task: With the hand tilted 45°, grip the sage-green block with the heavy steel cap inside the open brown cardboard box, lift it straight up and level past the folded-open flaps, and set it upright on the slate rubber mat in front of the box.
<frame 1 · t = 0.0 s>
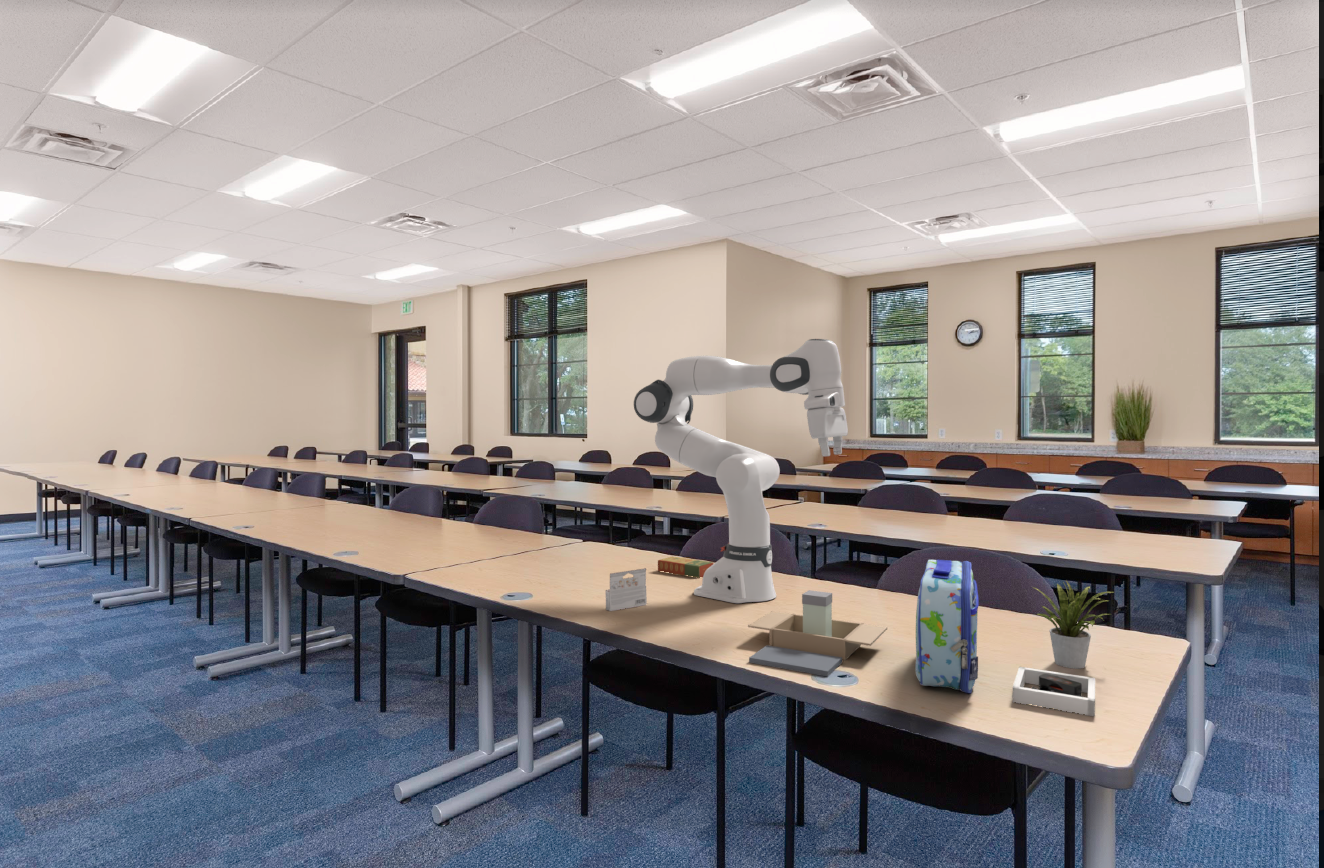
hand: (832, 455, 186), 39 cm above the table, tool pointing down, fingers open, 8 cm apart
lunch box: (947, 675, 138), on the table
house plant: (1077, 666, 141), on the table
slate mat: (795, 662, 145), on the table
carton: (685, 574, 229), on the table
ink cartridge box: (626, 608, 188), on the table
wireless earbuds: (1053, 699, 126), resting in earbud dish
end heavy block: (817, 619, 156), in the open cardboard box
open cardboard box: (817, 644, 156), on the table
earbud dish: (1054, 697, 126), on the table
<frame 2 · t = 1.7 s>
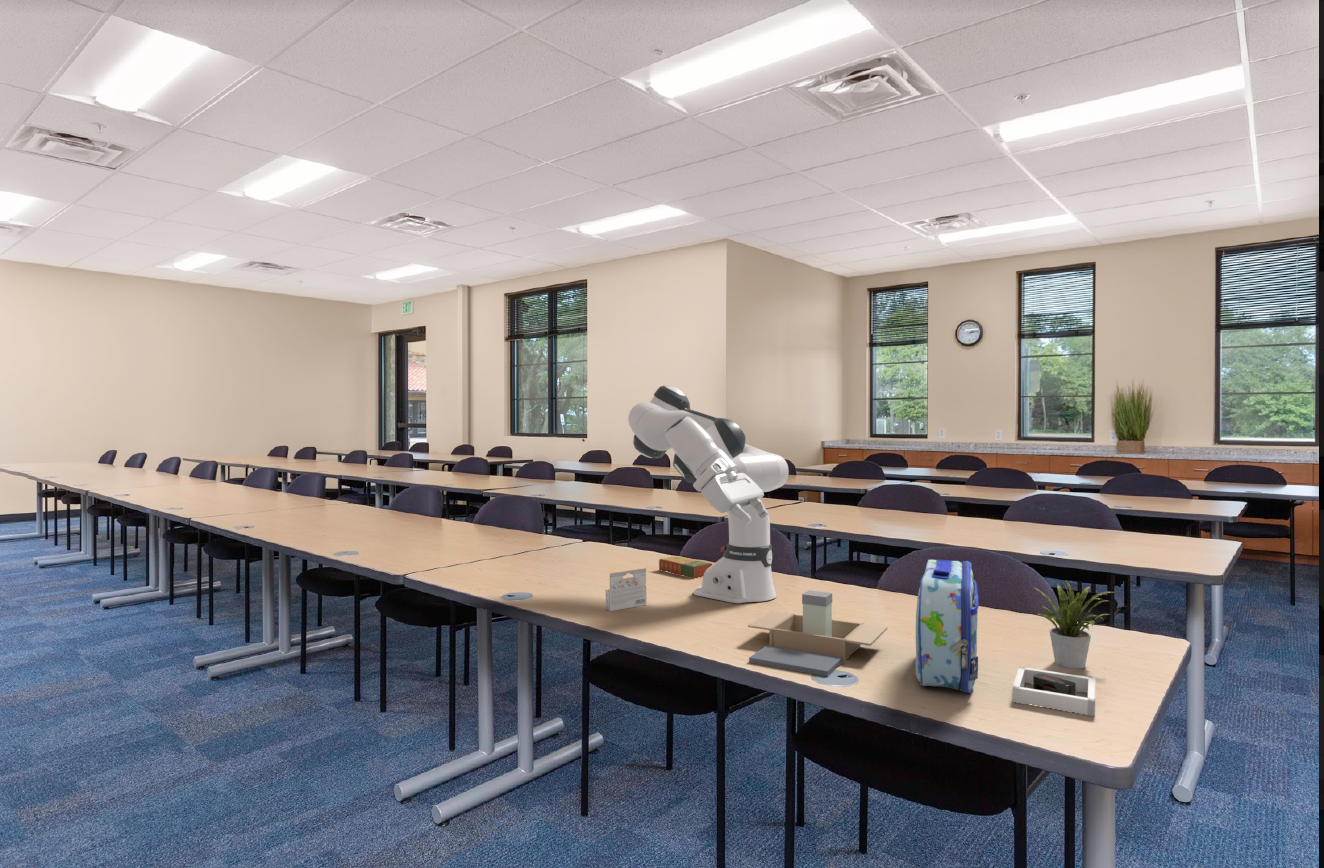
hand: (757, 519, 163), 26 cm above the table, tool tilted 45°, fingers open, 8 cm apart
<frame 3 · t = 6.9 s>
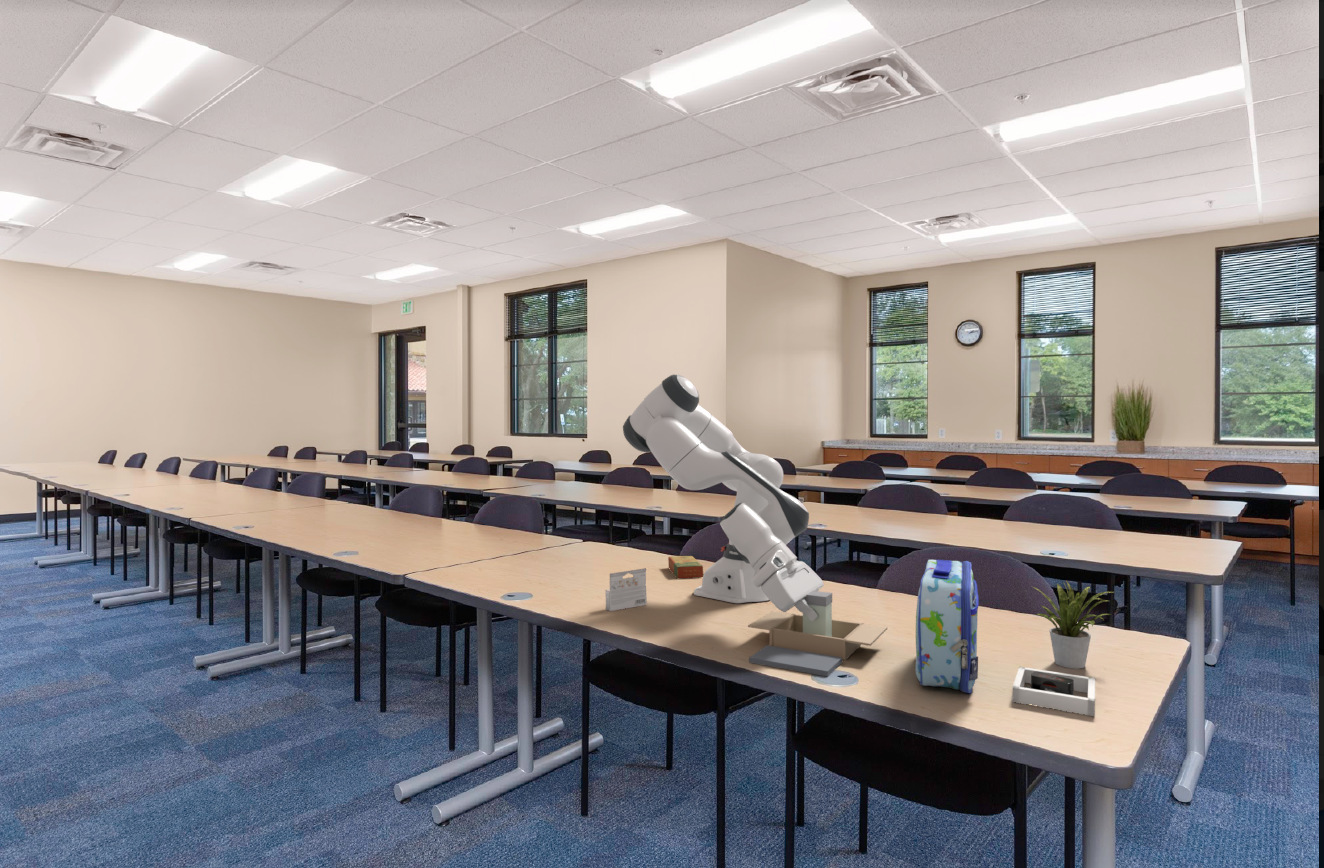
hand: (820, 615, 155), 6 cm above the table, tool tilted 45°, fingers closed on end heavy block, 4 cm apart
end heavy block: (817, 619, 156), in the open cardboard box, touching gripper
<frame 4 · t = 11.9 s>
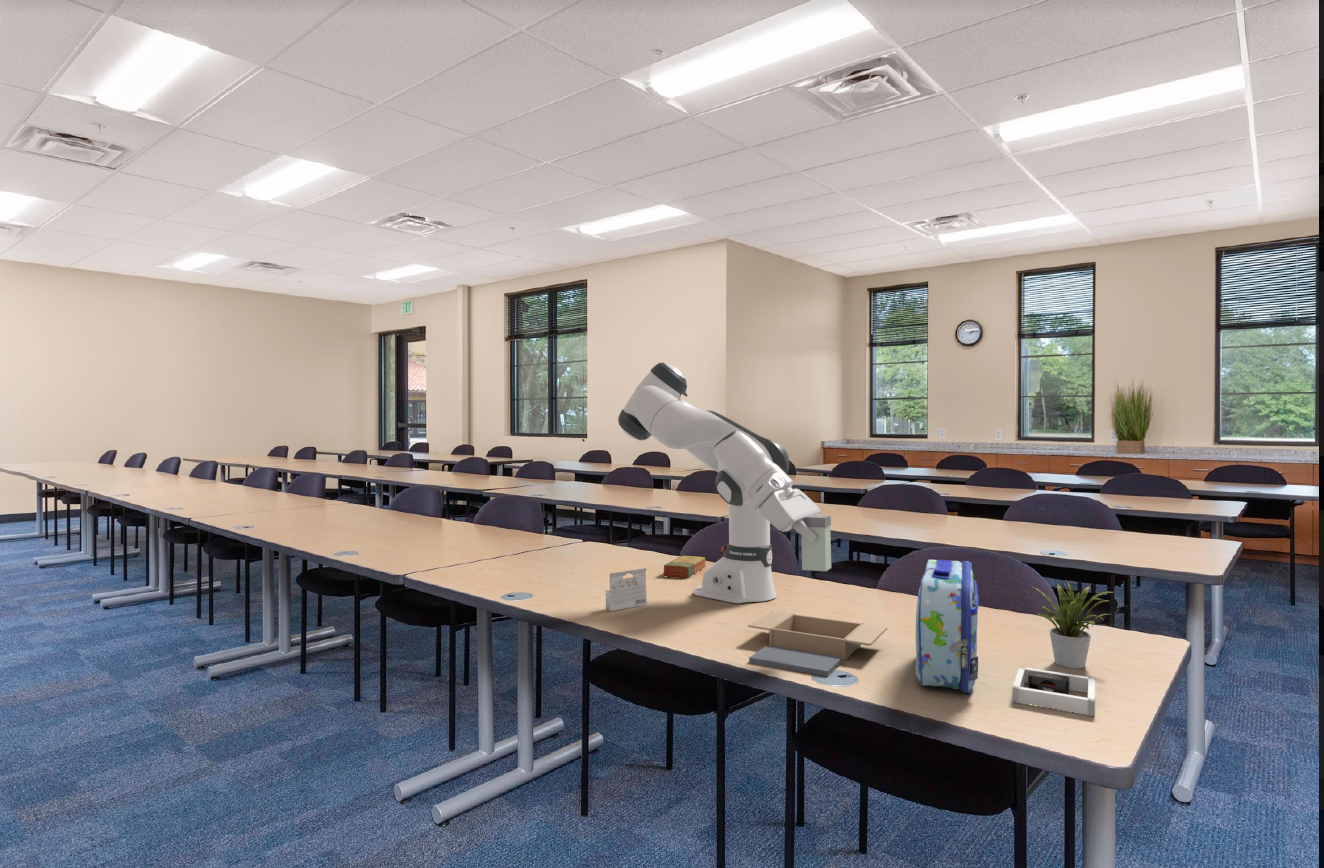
hand: (818, 538, 152), 23 cm above the table, tool tilted 45°, fingers closed on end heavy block, 4 cm apart
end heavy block: (816, 542, 152), point 22 cm above the table, touching gripper
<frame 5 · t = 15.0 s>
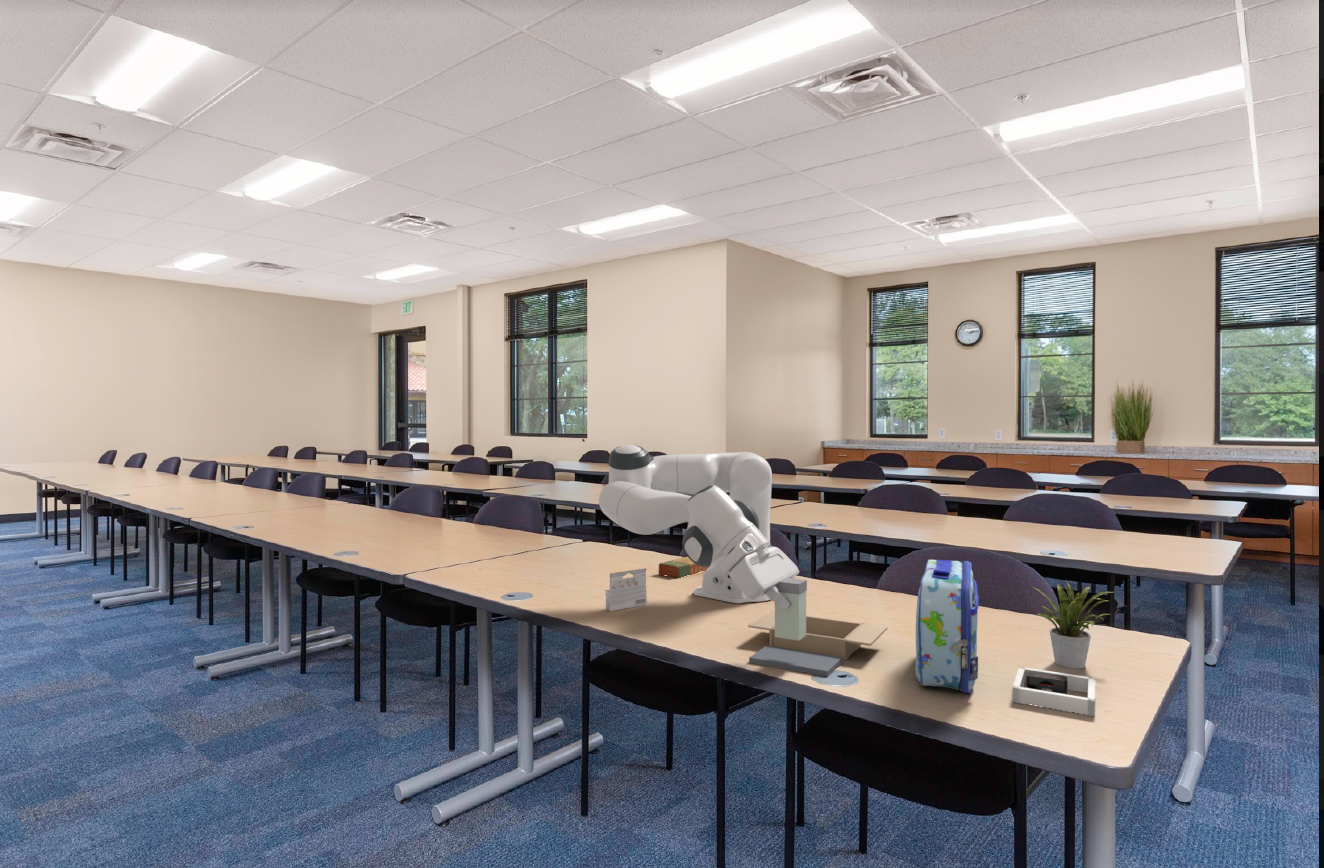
hand: (793, 604, 144), 12 cm above the table, tool tilted 45°, fingers closed on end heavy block, 4 cm apart
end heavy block: (790, 608, 144), point 11 cm above the table, touching gripper
when the fingers open (7 cm above the table, at t = 16.9 s): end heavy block stays where it is, resting on slate mat.
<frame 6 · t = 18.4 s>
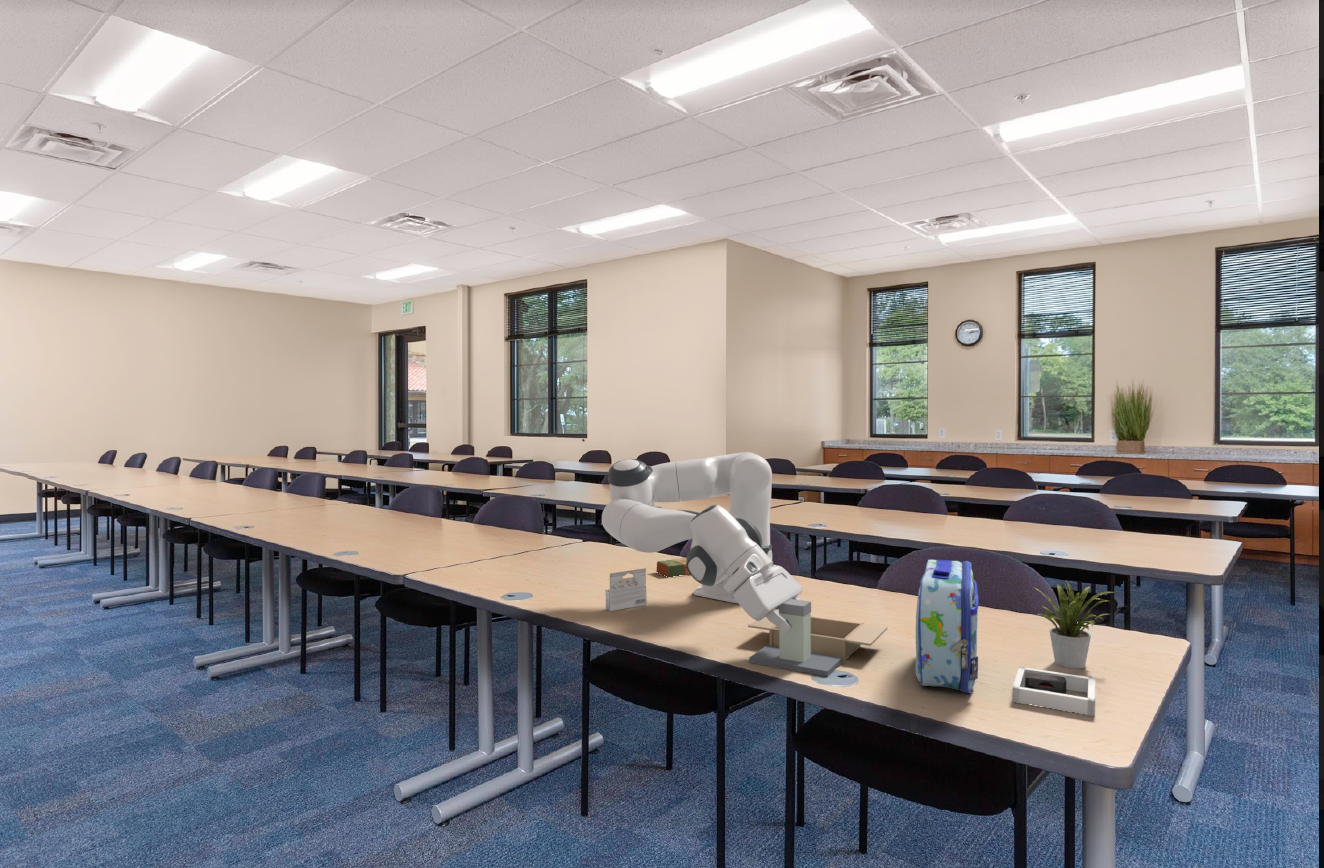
hand: (797, 624, 144), 8 cm above the table, tool tilted 45°, fingers open, 8 cm apart
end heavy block: (795, 629, 144), on the slate mat, point 6 cm above the table
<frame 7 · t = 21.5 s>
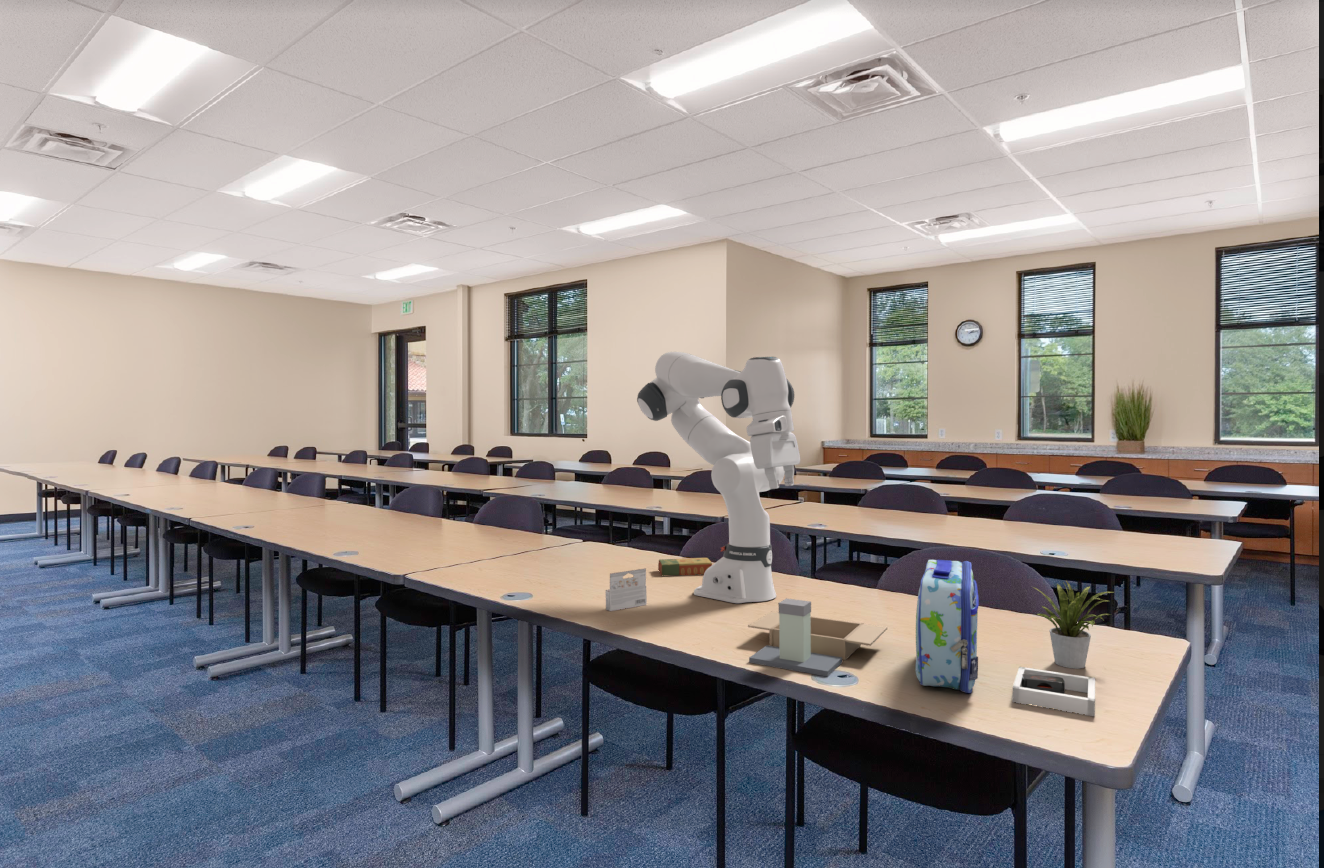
hand: (782, 487, 163), 33 cm above the table, tool pointing down, fingers open, 8 cm apart
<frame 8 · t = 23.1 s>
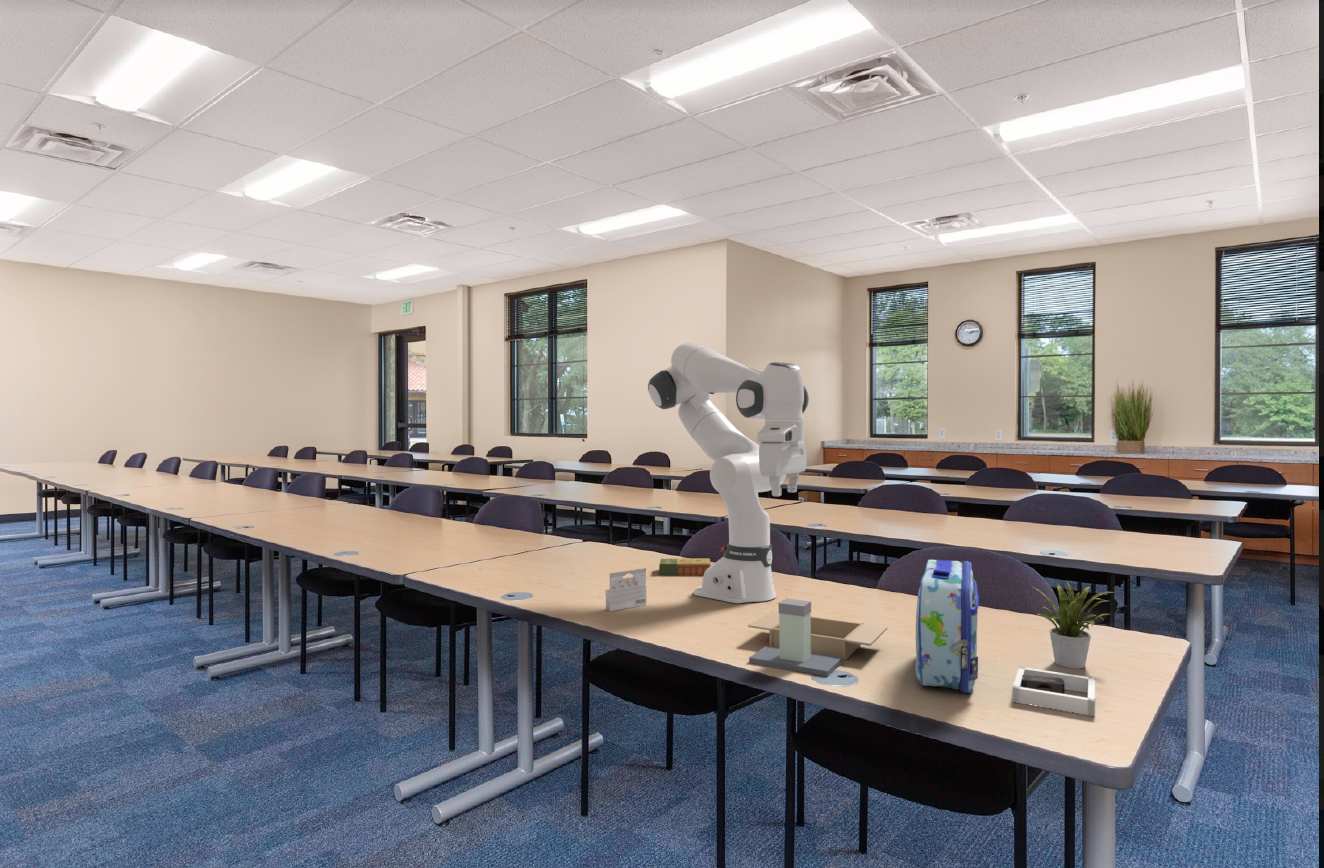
hand: (784, 494, 166), 31 cm above the table, tool pointing down, fingers open, 8 cm apart
at the end: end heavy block 0.1 cm off-centre on the slate mat, point 6.5 cm above the slate mat's base; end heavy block tilted 0°; the gripper is holding nothing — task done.
